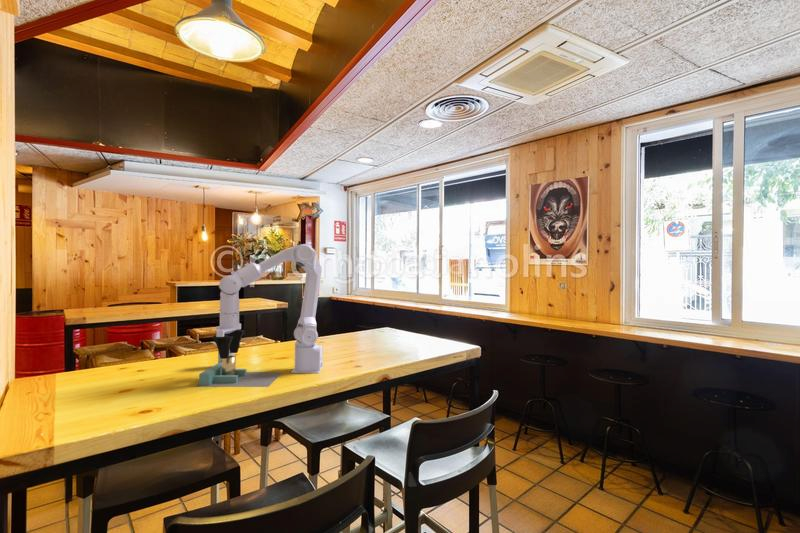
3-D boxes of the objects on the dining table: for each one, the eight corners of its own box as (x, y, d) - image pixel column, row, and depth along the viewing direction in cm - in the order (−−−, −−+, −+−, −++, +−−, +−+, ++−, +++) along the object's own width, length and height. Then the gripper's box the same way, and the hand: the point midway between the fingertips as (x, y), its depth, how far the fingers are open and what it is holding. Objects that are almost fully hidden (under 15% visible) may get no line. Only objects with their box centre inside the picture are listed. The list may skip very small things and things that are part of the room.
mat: (282, 372, 132) (282, 372, 132) (268, 387, 116) (268, 386, 116) (217, 372, 132) (217, 372, 132) (194, 387, 116) (194, 386, 116)
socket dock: (249, 372, 131) (249, 362, 131) (232, 385, 117) (232, 374, 117) (219, 372, 131) (219, 362, 131) (199, 385, 117) (199, 373, 117)
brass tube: (237, 377, 126) (237, 355, 126) (232, 380, 122) (232, 358, 122) (225, 377, 126) (225, 355, 126) (219, 380, 122) (220, 358, 122)
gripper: (226, 310, 131) (226, 350, 131) (206, 315, 116) (206, 361, 116) (247, 310, 131) (247, 350, 131) (230, 316, 117) (229, 361, 117)
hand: (229, 355), depth 124 cm, fingers open, 7 cm apart
